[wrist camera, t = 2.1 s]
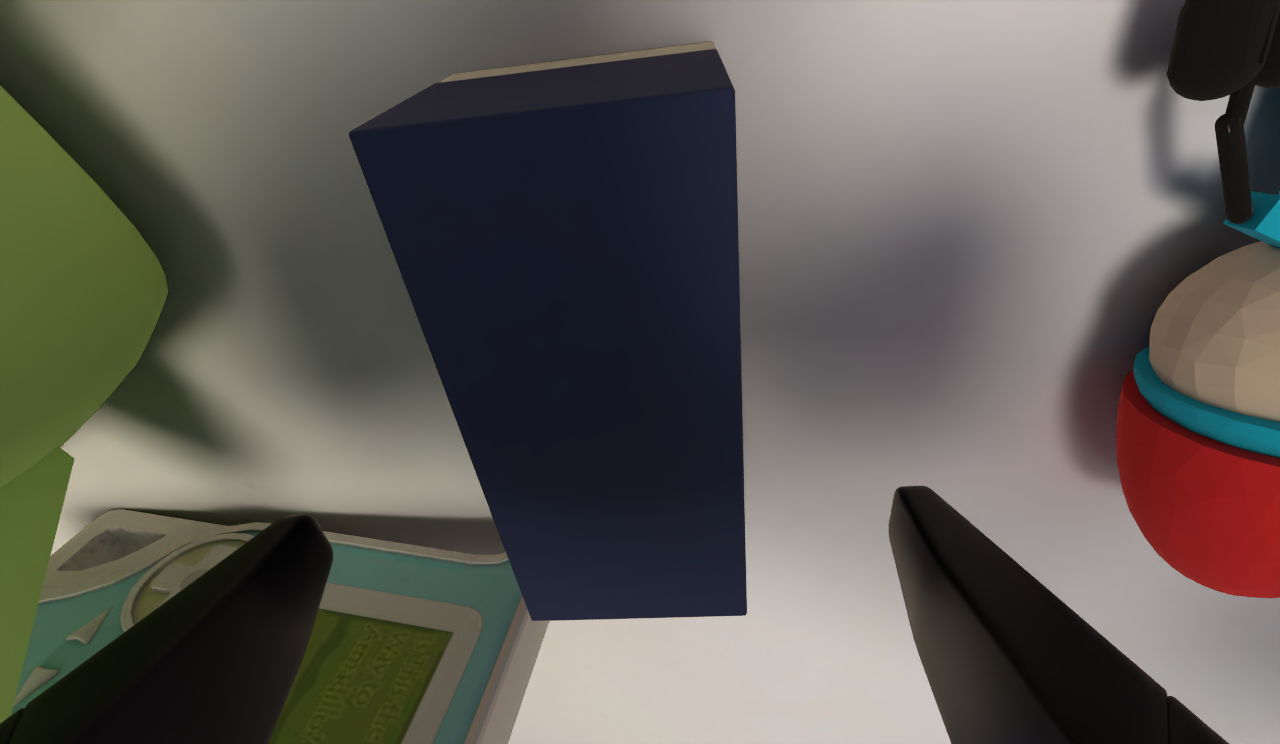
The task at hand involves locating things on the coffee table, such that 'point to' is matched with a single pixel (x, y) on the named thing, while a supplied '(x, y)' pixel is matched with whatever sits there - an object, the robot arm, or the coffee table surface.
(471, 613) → the handheld gaming console
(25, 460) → the teapot
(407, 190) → the dark blue rectangular block
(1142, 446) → the toy figure
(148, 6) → the coffee table surface
